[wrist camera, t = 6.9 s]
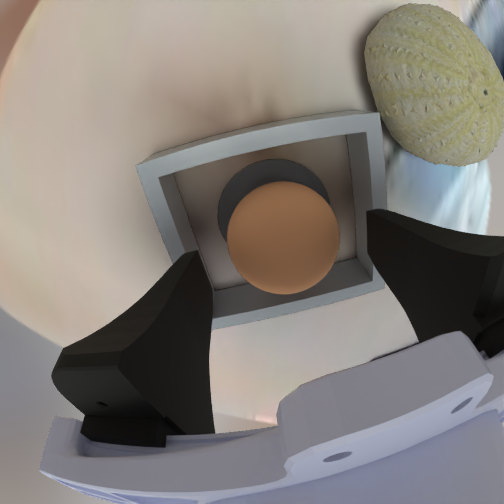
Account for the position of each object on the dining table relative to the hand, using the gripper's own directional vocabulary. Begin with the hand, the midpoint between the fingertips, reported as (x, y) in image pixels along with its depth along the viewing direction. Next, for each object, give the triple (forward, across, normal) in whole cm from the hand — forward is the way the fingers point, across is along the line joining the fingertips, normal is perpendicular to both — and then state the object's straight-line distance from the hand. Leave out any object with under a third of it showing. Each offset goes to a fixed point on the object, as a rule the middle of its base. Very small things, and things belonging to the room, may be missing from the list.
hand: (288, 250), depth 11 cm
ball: (+4, 0, 0) cm, 4 cm away
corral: (+4, 0, 0) cm, 4 cm away
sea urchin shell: (+4, -10, -6) cm, 13 cm away
